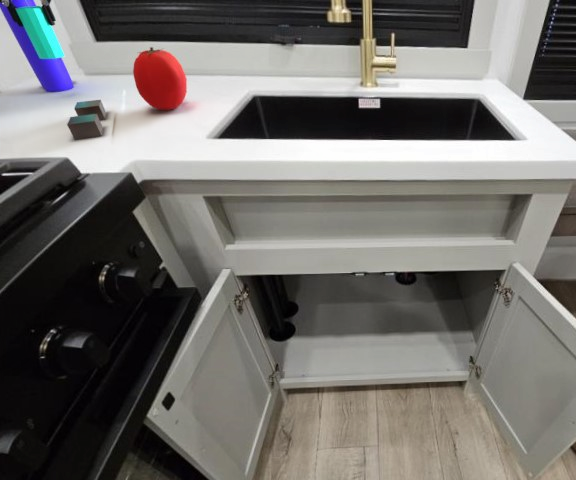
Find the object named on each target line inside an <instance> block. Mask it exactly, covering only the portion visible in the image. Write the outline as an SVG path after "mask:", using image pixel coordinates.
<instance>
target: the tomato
mask: <svg viewBox="0 0 576 480" xmlns="http://www.w3.org/2000/svg"><path fill="white" fill-rule="evenodd" d="M132 72H133V79H134V82H135V87H136V89H137V92H138V94H139V95H140V97H141V98H142V99H143V100H144V101H145V102H146V103H147V104H148V105H149V106H150V107H152V108H153V109H157V110H160V111H170V110H174V109H176V108H178V107H180V106H181V105H182V104H183V102H184V100H185V99H186V95H187V93H188V92H187V91H188V90H187V89H188V87H187V86H188V85H187V84H188V83H187V81H188V80H187V76H186V73H185V71H184V68H183V67H182V64H181V63H180V61H179V60H178V59H177V58H176V57H175V56H174V55H173V54H172V53H171V52H169V51H167V50H164V49H163V48H161V49H154V47H153V46H150V47H149V49H148V50H147V49H146V50H143V51H139V52H138V55H137V57H135V59H134V62H133V69H132Z"/></svg>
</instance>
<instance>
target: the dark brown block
mask: <svg viewBox="0 0 576 480" xmlns="http://www.w3.org/2000/svg"><path fill="white" fill-rule="evenodd" d="M73 109H74V111H75V114H76V116H82V115H90V114H97V115H98V118H99V120H100V121H105V120H106V118H107V111H106V108H105V107H104V104H103V102H102V99H95V100H94V99H93V100H84V101H77V102H76V103H75V105H74V108H73Z"/></svg>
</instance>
